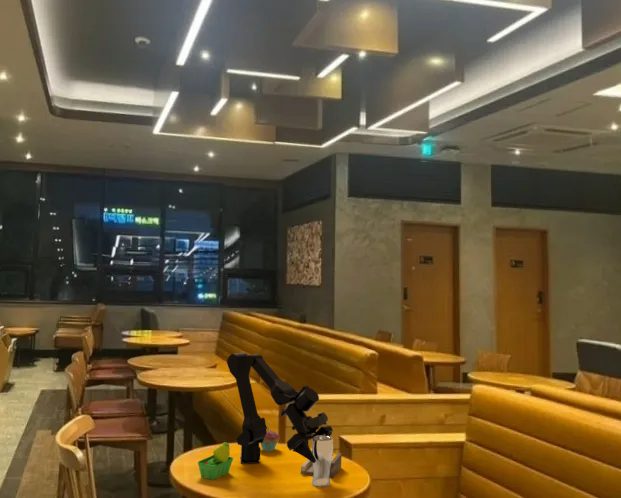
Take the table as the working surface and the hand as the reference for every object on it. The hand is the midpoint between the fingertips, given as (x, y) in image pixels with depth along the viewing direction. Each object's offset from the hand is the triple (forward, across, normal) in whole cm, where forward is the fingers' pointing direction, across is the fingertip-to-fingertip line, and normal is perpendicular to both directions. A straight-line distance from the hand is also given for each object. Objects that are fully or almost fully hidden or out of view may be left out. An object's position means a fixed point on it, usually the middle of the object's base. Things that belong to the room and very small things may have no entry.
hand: (323, 459), depth 208 cm
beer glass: (+5, 0, +6) cm, 8 cm away
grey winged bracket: (0, +11, +12) cm, 16 cm away
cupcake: (-22, +15, +33) cm, 42 cm away
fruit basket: (-16, -19, +28) cm, 37 cm away
